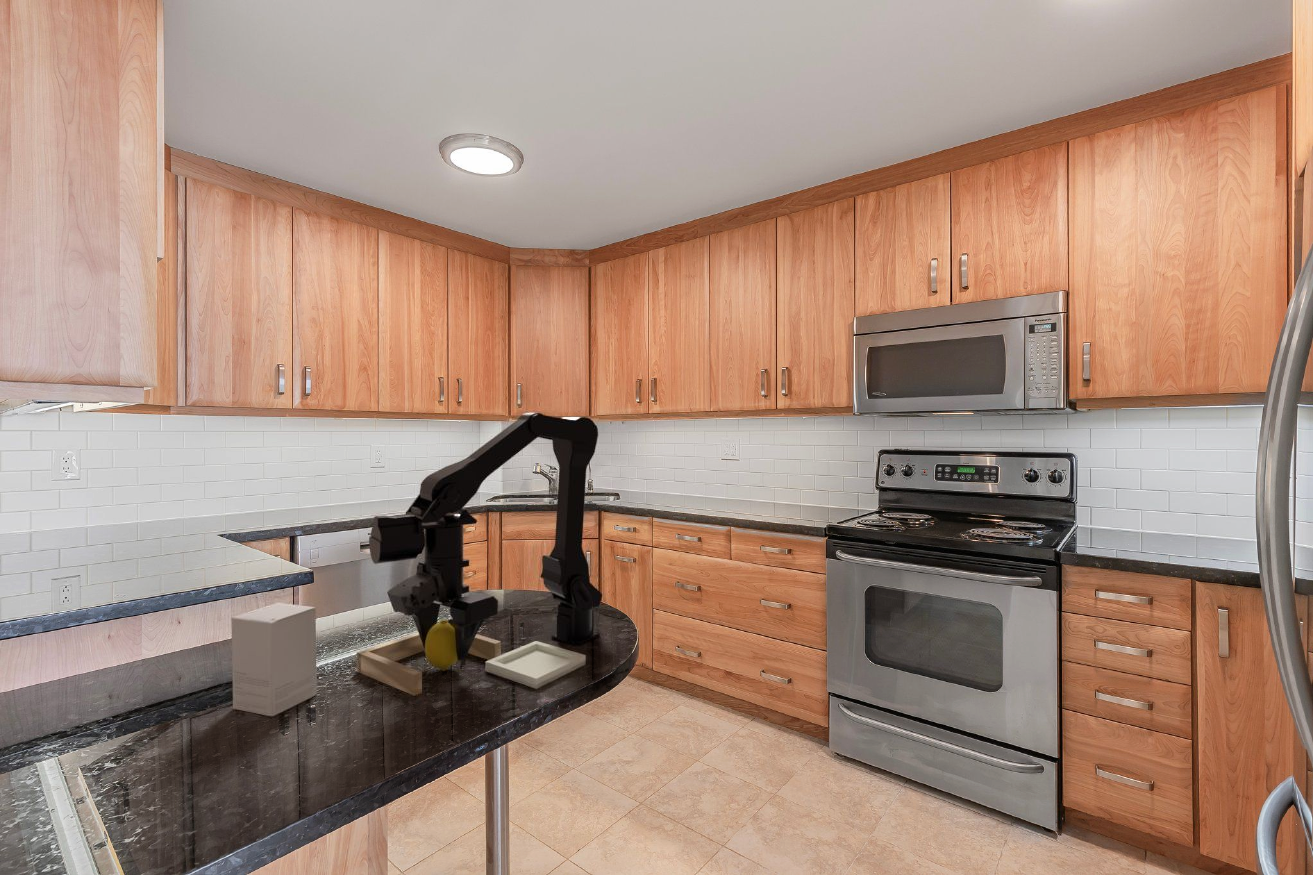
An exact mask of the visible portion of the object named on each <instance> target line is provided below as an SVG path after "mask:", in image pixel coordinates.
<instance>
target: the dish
mask: <svg viewBox="0 0 1313 875" xmlns="http://www.w3.org/2000/svg"><path fill="white" fill-rule="evenodd" d="M585 665H586V655H585V654H582V653H579V652H576V651H572V650H569V649H565V648H561V647H558V646H556V645H552V644H548V643H545V642H541V641H538V640H535V641H532V642H530V643H527V644H526V645H523V646H519V647H517V648H515V649H513V650H511V651H508V652H506V653H503V654H501V655H500V656H498V657H495V658H493V659H491V660H487V661H485V664H484V666H485V672H487V673H490V674H493V675H496V676H499V677H501V678H504V679H507V680H510V681H512V682H516V683H519V684H521V685H523V686H527V687H530V688H532V689H535V690H537V689H539V688H542V687H543V686H545V685H547V684H549V683H551V682H554V681H556V680H557V679H560V678H562V677H563V676H565V675H567V674H570V673H572V672H573V671H575V670H577V669H579V668H581V667H583V666H585Z"/></svg>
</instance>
